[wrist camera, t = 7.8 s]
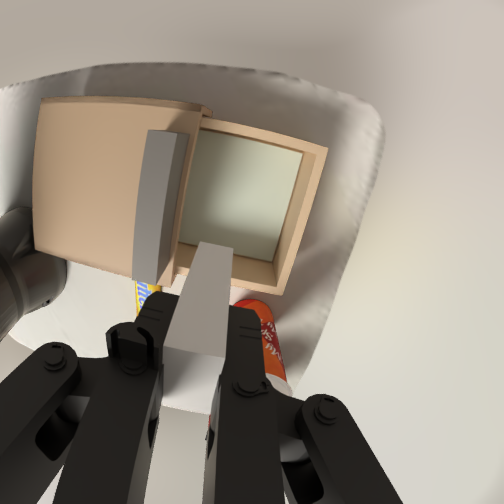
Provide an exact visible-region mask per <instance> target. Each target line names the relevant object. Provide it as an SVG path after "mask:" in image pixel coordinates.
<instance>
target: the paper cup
mask: <svg viewBox="0 0 504 504" xmlns="http://www.w3.org/2000/svg"><path fill="white" fill-rule="evenodd" d="M233 306H237V307H242V308H248V309H254V310H255V312H256V313H257V315H258V316H259V318H260V319H261V332H262V341H263V352H264V364H265V373H266V377H267V378H268V379H269V380H270V382H271V384H272V386H273V387H274V388H275V389H276V390H278V391H279V392H281V393H283V394H285V395H287V396H290V397H292V390H291V387H290V386H289V385H288V383H287V380H286V374H285V369H284V365H283V360H282V356H281V352H280V348H279V343H278V338H277V333H276V329H275V324H274V320H273V316H272V313H271V310H270V309H269V307H268V306H267V305H266V304H265V303H263V302H261V301H259V300H255V299H246V300H242V301H239V302H237V303H236V304H234V305H233Z"/></svg>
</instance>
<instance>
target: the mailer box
mask: <svg viewBox="0 0 504 504" xmlns="http://www.w3.org/2000/svg"><path fill="white" fill-rule="evenodd" d="M328 149H329V148H326V147H323V146H320V145H317V144H314V143H310V142H307V141H304V140H300V139H297V138H293V137H290V136H286V135H282V134H278V133H275V132H271V131H267V130H263V129H258V128H254V127H250V126H245V125H241V124H236V123H231V122H226V121H221V120H216V119H210V118H205V117H202V119H201V123H200V127H199V131H198V136H197V140H196V145H195V150H194V154H193V159H192V164H191V169H190V174H189V179H188V185H187V190H186V196H185V202H184V207H183V214H182V220H181V226H180V233H179V240H178V247H177V254H176V262H175V270H174V273H176V274H181V275H185V276H187V275H188V272H189V269H190V267H191V264H192V261H193V259H194V256H195V253H196V251H197V248H198V246H199V243H200V241H201V242H206V243H210V244H215V245H220V246H225V247H230V248H233V260H232V272H231V286H235V287H240V288H245V289H250V290H255V291H260V292H265V293H270V294H275V295H280V296H282V295H283V292H284V289H285V286H286V284H287V281H288V278H289V275H290V272H291V269H292V266H293V263H294V260H295V257H296V254H297V251H298V248H299V245H300V242H301V239H302V235H303V232H304V229H305V226H306V223H307V220H308V216H309V213H310V210H311V207H312V203H313V200H314V197H315V194H316V190H317V187H318V183H319V180H320V177H321V173H322V170H323V166H324V163H325V159H326V156H327V152H328Z"/></svg>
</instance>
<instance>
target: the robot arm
mask: <svg viewBox="0 0 504 504" xmlns="http://www.w3.org/2000/svg"><path fill="white" fill-rule="evenodd" d="M232 260H233V248H230V247H225V246H220V245H215V244H210V243H206V242H201V241H200V243H199V246H198V248H197V251H196V253H195V256H194V259H193V261H192V264H191V267H190V269H189V272H188V275H187V278H186V280H185V283H184V286H183V289H182V291H181V294H180V296H178V295H174V294H169V293H165V292H161V291H155V292H154V293H152V294H151V295H149V296H148V297H147V298H146V300H145V302H144V304H143V306H142V308H141V309H140V311H139V313H138V316H137V317H136V319H135V321H134V322H125V323H119V324H117V325H115V326H113V327H111V328H110V329H109V330H108V331H107V332H106V333H105V334H106V342H107V349H108V355H109V356H108V357H104V358H83V357H77V355H76V352H75V351H74V350H73V349H72V348H71V347H70V346H69V345H67V344H64V343H62V342H50V343H46V344H44V345H42V346H41V347H39V348H38V349H37V350H35V351H34V352H33V353H32V354H31V355H30V356H29V357H28V358H27V359H25V361H23V362H22V363H21V364H20V365H19V366H18V367H17V368H16V369H15V370H14V371H13V372H11V373H10V374H9V375H8V376H7V377H6V378H5V379H4V380H3V381H2V382H1V383H0V504H37V502H38V501H39V499H40V498H41V496H42V495H43V494H44V492H45V491H46V489H47V488H48V486H49V485H50V483H51V482H52V480H53V479H54V478H55V476H56V475H57V473H58V472H59V470H60V469H61V468H62V466H63V465H64V467H63V470H62V473H61V477H60V479H59V482H58V486H57V489H56V493H55V496H54V500H53V503H52V504H144V498H145V492H146V486H147V480H148V474H149V469H150V463H151V458H152V453H153V448H154V443H155V438H156V433H157V429H158V424H159V410H160V406H161V402H162V405H163V406H168V407H172V408H177V409H182V410H187V411H192V412H197V413H203V414H209V415H210V413H211V417H210V424H209V428H208V431H207V435H206V438H205V440H207V446H206V459H205V472H204V486H203V501H202V504H285V497H284V492H285V494H286V497H287V499H288V502H289V504H403V503H402V501H401V499H400V498H399V496H398V494H397V492H396V491H395V489H394V487H393V485H392V484H391V482H390V480H389V479H388V477H387V475H386V474H385V472H384V470H383V468H382V467H381V465H380V463H379V462H378V460H377V458H376V457H375V455H374V453H373V452H372V450H371V448H370V446H369V445H368V443H367V441H366V440H365V438H364V436H363V435H362V433H361V431H360V429H359V428H358V426H357V424H356V423H355V421H354V419H353V417H352V416H351V414H350V413H349V411H348V409H347V408H346V406H345V405H344V404H343V403H342V402H341V401H340V400H338V399H337V398H335V397H333V396H330V395H326V394H316V395H313V396H310V397H308V398H307V400H306V401H302V400H299V399H296V398H293V397H290V396H287V395H285V394H283V393H281V392H279V391H278V390H276V389H275V388H274V387H273V386H272V384H271V382H270V380H269V379H268V378H267V377H266V373H265V364H264V352H263V341H262V332H261V319H260V318H259V316H258V315H257V313H256V312H255V310H254V309H248V308H242V307H237V306H232V305H229V298H230V285H231V272H232ZM65 282H66V264H65V259H63V258H60V257H57V256H54V255H50V254H47V253H44V252H41V251H38V250H35V243H34V230H33V210H32V209H30V208H26V207H18V208H15V209H13V210H11V211H9V212H7V213H5V214H4V215H3V216H2V217H1V218H0V342H1V341H2V339H3V338H4V337H5V336H6V334H7V333H8V332H9V331H10V330H11V329H12V327H13V326H14V325H15V324H16V323H17V322H18V320H19V319H20V318H21V317H22V316H23V315H26V314H28V313H30V312H33V311H35V310H38V309H40V308H42V307H45V306H47V305H49V304H50V303H52V302H53V301H54V300H55V299H56V298H57V297H58V296H59V295H60V294H61V292H62V291H63V289H64V286H65ZM64 463H65V464H64Z"/></svg>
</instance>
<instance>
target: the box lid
mask: <svg viewBox="0 0 504 504" xmlns="http://www.w3.org/2000/svg"><path fill="white" fill-rule="evenodd" d="M202 116H205V117H211V116H212V111H211V110H209V109H208V108H206V107H205V106H203V105H200V104H194V103H187V102H179V101H171V100H162V99H151V98H139V97H121V96H66V97H49V98H42V99H41V105H40V110H39V116H38V123H37V130H36V138H35V147H34V160H33V180H32V210H33V230H34V243H35V250H38V251H41V252H44V253H47V254H50V255H54V256H57V257H60V258H63V259H66V260H70V261H73V262H76V263H80V264H83V265H86V266H90V267H93V268H97V269H100V270H104V271H108V272H111V273H115V274H118V275H122V276H126V277H130V278H132V280H135V281H139V282H142V283H146V284H150V285H154V286H156V285H161V286H165V287H169V288H171V286H172V283H173V281H174V279H175V277H176V275H177V274H176V273H174V270H175V262H176V254H177V247H178V240H179V233H180V226H181V220H182V214H183V207H184V202H185V196H186V190H187V185H188V179H189V174H190V169H191V164H192V159H193V154H194V150H195V145H196V140H197V136H198V131H199V127H200V123H201V119H202Z"/></svg>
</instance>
